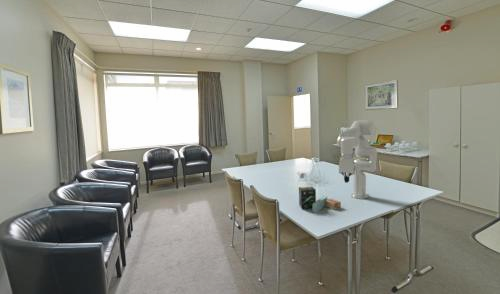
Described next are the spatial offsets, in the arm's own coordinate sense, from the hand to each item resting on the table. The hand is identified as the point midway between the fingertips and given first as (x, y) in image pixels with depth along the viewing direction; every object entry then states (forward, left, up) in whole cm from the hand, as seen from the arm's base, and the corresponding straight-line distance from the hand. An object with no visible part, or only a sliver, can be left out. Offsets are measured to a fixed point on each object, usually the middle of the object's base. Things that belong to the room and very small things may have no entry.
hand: (346, 182), depth 168 cm
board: (+1, -19, -22) cm, 29 cm away
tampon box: (+4, -28, -23) cm, 36 cm away
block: (-5, -12, -23) cm, 26 cm away
